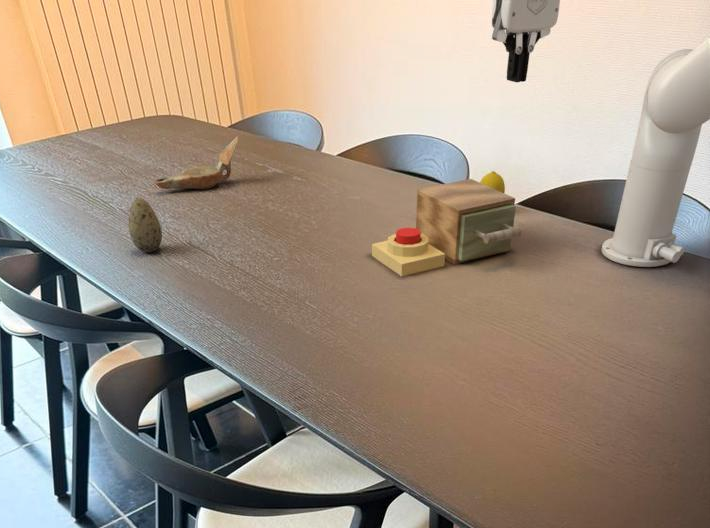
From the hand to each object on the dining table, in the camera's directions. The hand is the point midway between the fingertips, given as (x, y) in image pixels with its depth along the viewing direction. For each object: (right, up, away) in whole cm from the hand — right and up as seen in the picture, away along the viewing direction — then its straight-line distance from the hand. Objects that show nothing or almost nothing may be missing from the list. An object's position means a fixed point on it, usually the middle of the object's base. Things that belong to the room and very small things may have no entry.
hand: (516, 80), depth 112 cm
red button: (-17, -23, +10) cm, 31 cm away
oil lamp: (-63, +4, +50) cm, 81 cm away
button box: (-17, -26, +12) cm, 33 cm away
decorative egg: (-67, -22, +19) cm, 73 cm away
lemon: (+2, -9, +31) cm, 32 cm away
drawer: (-5, -23, +13) cm, 27 cm away
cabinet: (-6, -22, +17) cm, 28 cm away
